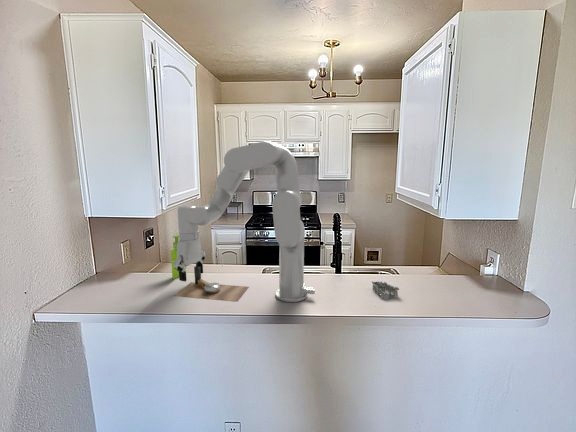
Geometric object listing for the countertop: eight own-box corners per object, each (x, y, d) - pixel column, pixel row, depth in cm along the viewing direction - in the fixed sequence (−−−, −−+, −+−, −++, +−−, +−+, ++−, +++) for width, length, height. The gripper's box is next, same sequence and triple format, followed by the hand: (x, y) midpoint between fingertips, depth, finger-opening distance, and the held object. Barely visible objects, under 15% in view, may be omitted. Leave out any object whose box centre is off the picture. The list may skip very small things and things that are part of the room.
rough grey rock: (399, 298, 117) (400, 288, 117) (381, 300, 116) (382, 290, 116) (386, 287, 128) (387, 278, 127) (370, 289, 127) (370, 279, 126)
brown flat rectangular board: (249, 290, 125) (249, 286, 125) (237, 305, 111) (237, 300, 111) (191, 285, 130) (191, 281, 129) (173, 299, 116) (173, 295, 116)
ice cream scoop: (223, 290, 120) (222, 273, 119) (210, 294, 116) (209, 277, 115) (202, 280, 131) (202, 264, 130) (190, 284, 126) (189, 267, 125)
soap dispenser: (189, 274, 142) (186, 233, 139) (182, 280, 136) (180, 236, 132) (177, 274, 143) (174, 233, 140) (170, 279, 136) (167, 236, 133)
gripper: (196, 231, 131) (199, 269, 134) (165, 240, 115) (168, 282, 118) (210, 232, 128) (212, 271, 130) (180, 242, 112) (183, 285, 115)
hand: (191, 276), depth 124 cm, fingers open, 9 cm apart
